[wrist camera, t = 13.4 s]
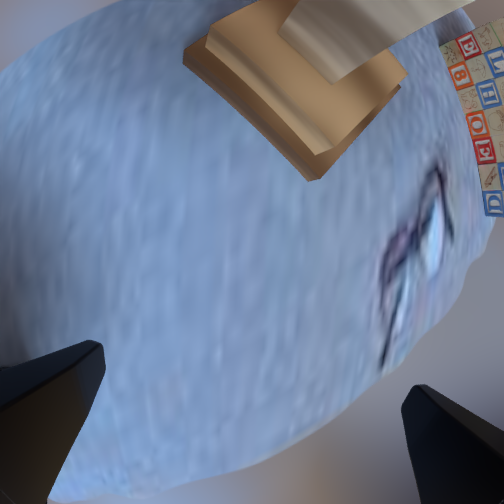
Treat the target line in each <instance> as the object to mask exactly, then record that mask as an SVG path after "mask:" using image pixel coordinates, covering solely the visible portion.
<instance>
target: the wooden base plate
mask: <svg viewBox="0 0 504 504" xmlns="http://www.w3.org/2000/svg"><path fill="white" fill-rule="evenodd" d="M207 37H208V34H207V35H205V36H204V37H202V38H201V39H199V40H198V41H196V42H195V43H193V44H192V45H190V46H189V47H187V48H186V49H185V50H184V55H183V64H184V65H185V66H186V67H187V68H189V69H190V70H191V71H192V72H193V73H195V74H196V75H197V76H198V77H199V78H201V79H202V80H203V81H204V82H205V83H206V84H208V85H209V86H210V87H211V88H212V89H213V90H215V91H216V92H217V93H218V94H219V95H220V96H221V97H222V98H224V99H225V100H226V101H227V102H228V103H229V104H230V105H231V106H232V107H234V108H235V109H236V110H237V111H238V112H239V113H240V114H241V115H242V116H243V117H244V118H245V119H246V120H248V121H249V122H250V123H251V124H252V125H253V126H254V127H255V128H256V129H257V130H258V131H259V132H260V133H261V134H262V135H263V136H264V137H265V138H266V139H267V140H268V141H269V142H270V143H271V144H272V145H273V146H274V147H275V148H276V149H277V150H278V151H279V152H280V153H281V154H282V155H283V156H284V157H285V158H286V159H287V160H288V161H289V162H290V163H291V164H292V165H293V166H294V167H295V168H296V169H297V170H298V171H299V173H300V174H301V175H302V176H303V177H304V178H305V179H306V180H307V181H308V182H309V181H313V180H317V179H321V177H322V176H323V175H324V174H325V173H326V172H327V171H328V170H329V168H330V167H331V166H332V165H333V164H334V163H335V162H336V160H337V159H338V158H339V157H340V156H341V155H342V154H343V153H344V151H345V150H346V149H347V148H348V147H349V146H350V145H351V144H352V142H353V141H354V140H355V139H356V138H357V137H358V136H359V134H360V133H361V132H362V131H363V130H364V129H365V128H366V127H367V125H368V124H369V123H370V122H371V121H372V120H373V119H374V118H375V116H376V115H377V114H378V113H379V112H380V111H381V110H382V108H383V107H384V106H385V105H386V104H387V103H388V102H389V100H390V99H391V98H392V97H393V96H394V95H395V94H396V93H397V91H398V90H399V89H400V88H401V87H400V85H399V84H398V85H397V86H396V87H395V88H394V89H393V90H392V91H391V92H390V93H389V94H388V95H387V96H386V97H385V98H384V99H383V100H382V101H381V102H380V103H379V104H378V105H377V106H376V107H375V108H373V109H372V110H371V111H370V113H369V114H368V115H367V116H366V117H365V118H364V119H363V120H362V121H361V122H360V123H359V124H358V125H357V126H356V127H355V128H354V129H353V130H352V131H351V132H350V133H349V134H348V135H347V136H346V137H345V138H344V139H343V140H342V141H341V142H340V143H339V144H338V145H337V146H336V147H334V148H332V149H329V150H327V151H324V152H322V153H319V154H317V155H314V153H313V152H312V151H311V150H310V149H309V148H308V147H307V145H306V144H305V143H304V142H303V141H302V140H301V139H300V138H299V137H298V135H297V134H296V133H295V132H294V131H293V130H292V129H291V128H290V127H289V126H288V125H287V124H286V123H285V122H284V121H283V119H282V118H281V117H280V116H279V115H278V114H277V113H276V112H275V111H274V110H273V109H272V108H271V107H270V106H269V105H268V104H267V103H266V102H265V101H264V100H263V99H262V98H261V97H260V96H259V95H258V94H257V93H256V92H255V91H254V90H253V89H252V88H251V87H249V86H248V85H247V84H246V83H245V82H244V81H243V80H242V79H241V78H240V77H239V76H238V75H237V74H235V73H234V72H233V71H232V70H231V69H230V68H229V67H228V66H227V65H225V64H224V63H223V62H222V61H221V60H220V59H219V58H217V57H216V56H215V55H214V54H213V53H212V52H210V51H209V50H208V49H207V48H206V47H205V45H206V41H207Z"/></svg>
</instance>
